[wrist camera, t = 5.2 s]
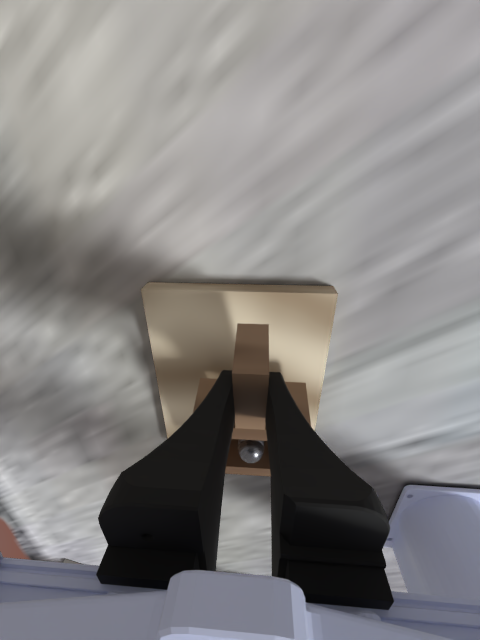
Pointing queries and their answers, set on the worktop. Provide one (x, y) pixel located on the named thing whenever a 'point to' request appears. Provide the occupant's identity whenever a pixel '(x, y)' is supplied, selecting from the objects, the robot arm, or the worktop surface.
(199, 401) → the walnut link
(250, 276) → the worktop surface
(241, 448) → the post
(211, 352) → the birch board
